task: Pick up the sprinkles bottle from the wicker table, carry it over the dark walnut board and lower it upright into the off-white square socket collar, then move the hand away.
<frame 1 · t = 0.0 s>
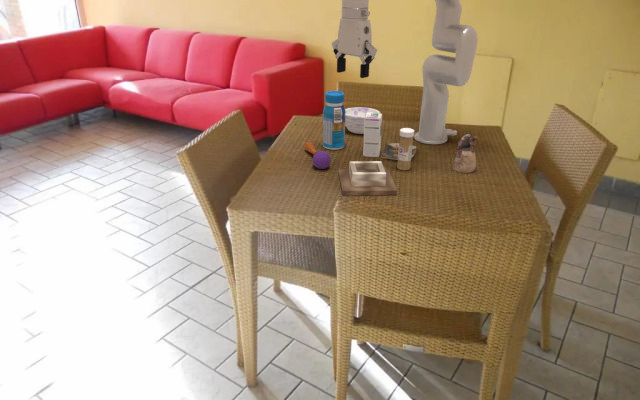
hand: (352, 74, 145), 31 cm above the table, tool pointing down, fingers open, 9 cm apart
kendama: (316, 161, 167), on the table
sprinkles bottle: (403, 168, 161), on the table
figurine: (463, 169, 161), on the table
syrup box: (371, 154, 172), on the table
socket board: (366, 183, 150), on the table
beverage bottle: (333, 146, 179), on the table
paper bowls: (360, 131, 196), on the table
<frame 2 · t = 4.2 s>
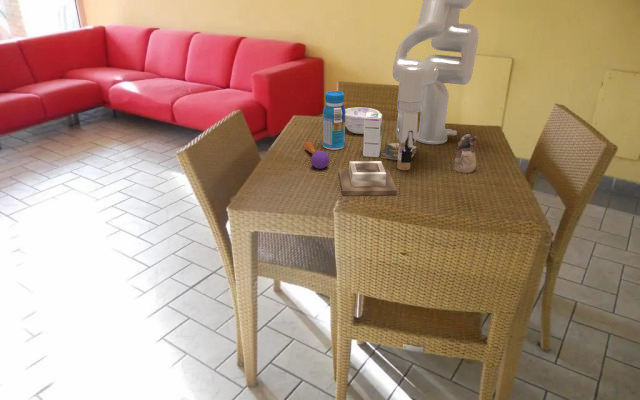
hand: (404, 158, 160), 3 cm above the table, tool pointing down, fingers closed on sprinkles bottle, 4 cm apart
sprinkles bottle: (403, 168, 161), on the table, touching gripper
everything else where it was.
when the fingers open (7 cm above the table, at t = 10.8 s): sprinkles bottle drops 2 cm, resting on socket board.
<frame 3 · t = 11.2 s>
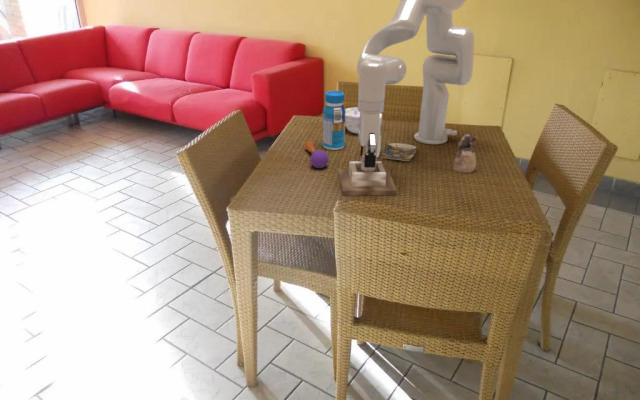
hand: (367, 161, 146), 8 cm above the table, tool pointing down, fingers open, 8 cm apart
sprinkles bottle: (367, 179, 149), point 1 cm above the table, touching socket board
everything else where it was.
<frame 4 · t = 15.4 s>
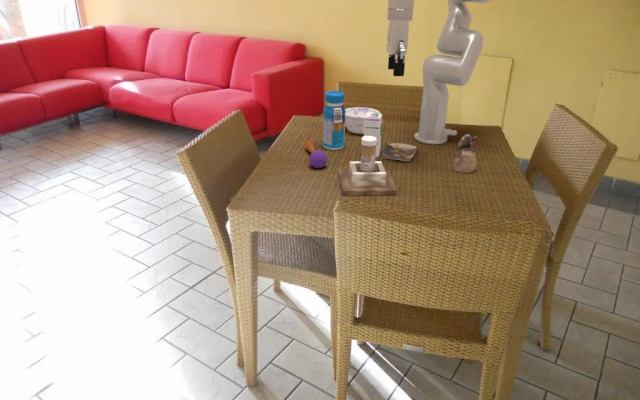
hand: (395, 72, 153), 30 cm above the table, tool pointing down, fingers open, 9 cm apart
at the end: sprinkles bottle 0.2 cm off-centre on the socket board, point 1.3 cm above the socket board's base; sprinkles bottle tilted 1°; the gripper is holding nothing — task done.
